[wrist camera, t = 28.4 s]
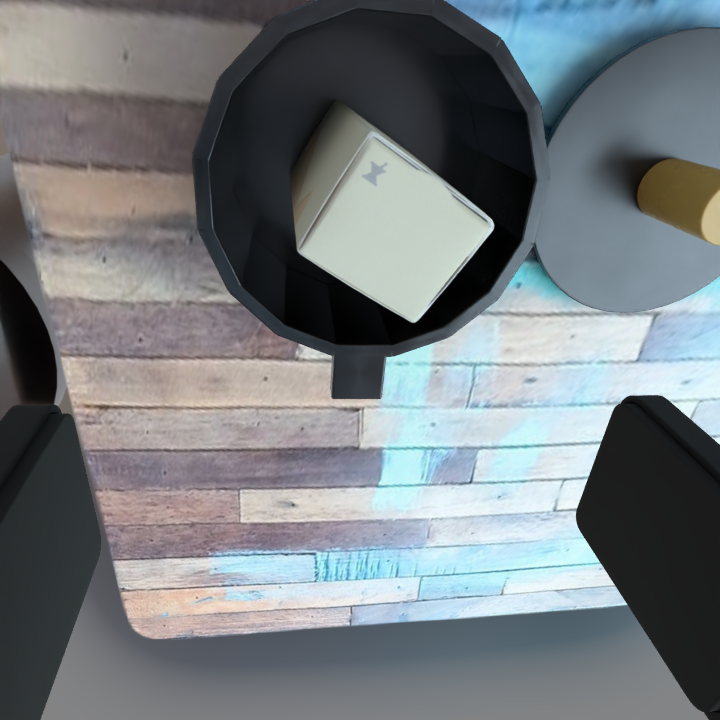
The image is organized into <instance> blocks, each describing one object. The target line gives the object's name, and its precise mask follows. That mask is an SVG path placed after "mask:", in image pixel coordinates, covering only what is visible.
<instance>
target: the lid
mask: <svg viewBox="0 0 720 720" xmlns="http://www.w3.org/2000/svg"><path fill="white" fill-rule="evenodd" d="M546 146H547V153H548V161H549V168H550V181H549V185H548V190H547V194H546V198H545V202H544V206H543V210H542V214H541V218H540V223H539V227H538V231H537V235H536V239H535V243H534V246H533V249H534V251H535V254H536V256H537V259H538V261H539V263H540V265H541V266H542V268H543V270H544V271H545V273H546V275H547V276H548V277H549V278H550V279H551V280H552V282H553V283H554V284H555V285H556V286H557V287H558V288H560V289H561V290H562V291H563V292H564V293H565V294H567V295H568V296H569V297H571V298H573V299H574V300H576V301H578V302H579V303H581V304H584V305H586V306H589V307H591V308H595V309H599V310H603V311H609V312H620V313H622V312H639V311H645V310H651V309H655V308H658V307H662V306H665V305H668V304H671V303H673V302H676V301H678V300H681V299H683V298H685V297H687V296H689V295H691V294H693V293H695V292H697V291H699V290H700V289H702V288H703V287H705V286H706V285H708V284H710V283H711V282H713V281H714V280H715V279H717V278H718V277H719V276H720V28H716V27H697V28H689V29H682V30H675V31H672V32H669V33H665V34H662V35H658V36H655V37H653V38H651V39H649V40H646V41H644V42H642V43H640V44H637V45H635V46H634V47H632V48H630V49H629V50H627V51H625V52H624V53H622V54H620V55H619V56H617V57H616V58H614V59H613V60H612V61H611V62H609V63H608V64H607V65H605V66H604V67H603V68H601V69H600V70H599V71H598V72H597V73H596V74H595V75H594V76H593V77H592V78H591V79H590V80H588V81H587V82H586V83H585V84H584V85H583V86H582V87H581V89H580V90H579V91H578V92H577V93H576V95H575V96H574V97H573V98H572V99H571V100H570V102H569V103H568V104H567V106H566V107H565V109H564V110H563V111H562V113H561V114H560V116H559V117H558V119H557V120H556V122H555V124H554V125H553V127H552V129H551V131H550V133H549V135H548V137H547V138H546Z"/></svg>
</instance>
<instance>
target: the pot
mask: <svg viewBox="0 0 720 720" xmlns="http://www.w3.org/2000/svg"><path fill="white" fill-rule="evenodd" d="M335 100H339V101H340V102H342V103H343V104H345V105H346V106H347V107H349V108H350V109H352V110H353V111H354V112H356V113H357V114H358V115H360V116H361V117H363V118H364V119H365V120H367V121H368V122H369V123H371V124H372V125H374V126H375V127H376V128H378V129H379V130H380V131H382V132H383V133H384V134H386V135H387V136H388V137H390V138H391V139H392V140H394V141H395V142H396V143H398V144H399V145H400V146H402V147H403V148H404V149H405V150H407V151H408V152H409V153H410V154H412V155H413V156H414V157H416V158H417V159H418V160H419V161H421V162H422V163H423V164H424V165H426V166H427V167H428V168H430V169H431V170H432V171H433V172H435V173H436V174H437V175H438V176H440V177H441V178H442V179H443V180H445V181H446V182H447V183H448V184H450V185H451V186H452V187H453V188H455V189H456V190H457V191H458V192H460V193H461V194H462V195H463V196H464V197H466V198H467V199H468V200H469V201H471V202H472V203H473V204H474V205H475V206H477V207H478V208H479V209H480V210H481V211H483V212H484V213H485V214H486V215H487V216H489V217H490V218H491V219H492V221H493V223H494V229H493V231H492V232H491V234H490V235H489V236H488V237H487V238H486V240H485V241H484V242H483V243H482V245H481V246H480V247H479V248H478V250H477V251H476V252H475V253H474V255H473V256H472V257H471V258H470V259H469V261H468V262H467V263H466V264H465V265H464V267H463V268H462V269H461V270H460V272H459V273H458V274H457V275H456V276H455V278H454V279H453V280H452V281H451V282H450V284H449V285H448V286H447V287H446V289H445V290H444V291H443V292H442V293H441V294H440V295H439V296H438V298H437V299H436V300H435V301H434V302H433V304H432V305H431V306H430V307H429V308H428V310H427V311H426V312H425V313H424V314H423V315H422V317H421V318H420V319H419V320H418V321H417V322H415V323H412V322H410V321H408V320H407V319H405V318H403V317H402V316H400V315H398V314H396V313H394V312H393V311H391V310H389V309H387V308H386V307H384V306H382V305H381V304H379V303H377V302H376V301H374V300H372V299H370V298H369V297H367V296H365V295H364V294H362V293H361V292H359V291H357V290H355V289H354V288H352V287H351V286H349V285H347V284H346V283H344V282H343V281H341V280H339V279H338V278H336V277H335V276H333V275H331V274H330V273H328V272H327V271H325V270H324V269H322V268H321V267H319V266H318V265H316V264H315V263H313V262H312V261H310V260H308V259H307V258H305V257H304V256H302V255H301V254H300V253H299V252H298V251H297V244H296V235H295V225H294V215H293V206H292V195H291V187H290V174H291V171H292V170H293V168H294V166H295V164H296V162H297V161H298V159H299V157H300V155H301V154H302V152H303V150H304V148H305V147H306V145H307V143H308V142H309V140H310V138H311V137H312V135H313V133H314V132H315V130H316V129H317V127H318V125H319V124H320V122H321V121H322V119H323V118H324V116H325V115H326V113H327V112H328V110H329V108H330V107H331V105H332V104H333V102H334V101H335ZM192 163H193V176H194V189H195V202H196V215H197V228H198V230H199V234H200V236H201V238H202V240H203V242H204V244H205V246H206V248H207V250H208V252H209V254H210V256H211V258H212V260H213V262H214V264H215V266H216V268H217V270H218V272H219V274H220V276H221V278H222V280H223V282H224V284H225V286H226V288H227V290H228V291H229V292H230V294H231V295H232V296H234V297H235V298H236V299H237V300H238V301H239V302H240V303H241V304H243V305H244V306H245V307H246V308H247V309H248V310H249V311H250V312H251V313H253V314H254V315H255V316H256V317H257V318H258V319H259V320H260V321H262V322H263V323H264V324H265V325H266V326H267V327H268V328H269V329H270V330H272V331H273V332H274V333H275V334H277V335H278V336H281V337H284V338H286V339H289V340H291V341H294V342H297V343H299V344H302V345H305V346H307V347H310V348H313V349H315V350H318V351H320V352H323V353H326V354H328V355H331V356H332V367H331V385H330V389H331V397H332V399H381V397H382V390H383V381H384V372H385V363H386V357H392V356H396V355H399V354H402V353H405V352H408V351H411V350H414V349H417V348H420V347H423V346H426V345H429V344H431V343H434V342H437V341H440V340H443V339H446V338H448V337H450V336H452V335H453V334H454V333H456V332H457V331H458V330H459V329H461V328H462V327H463V326H465V325H466V324H467V323H468V322H470V321H471V320H472V319H474V318H475V317H476V316H477V315H479V314H480V313H481V312H483V311H484V310H485V309H486V308H488V307H489V306H490V305H492V304H493V303H494V302H496V301H497V300H498V299H499V298H500V296H501V295H502V293H503V292H504V290H505V289H506V287H507V286H508V284H509V282H510V281H511V279H512V278H513V276H514V275H515V273H516V272H517V270H518V269H519V267H520V266H521V264H522V263H523V261H524V260H525V258H526V256H527V255H528V253H529V252H530V250H531V249H532V247H533V246H534V243H535V239H536V235H537V231H538V227H539V223H540V218H541V214H542V210H543V206H544V202H545V198H546V194H547V190H548V185H549V181H550V168H549V161H548V153H547V146H546V138H545V130H544V123H543V115H542V107H541V105H540V102H539V100H538V98H537V97H536V95H535V93H534V92H533V90H532V88H531V87H530V85H529V83H528V82H527V80H526V78H525V76H524V75H523V73H522V71H521V70H520V68H519V66H518V65H517V63H516V61H515V60H514V58H513V56H512V55H511V53H510V51H509V50H508V48H507V46H506V45H505V43H504V41H503V40H501V38H500V37H499V36H497V35H496V34H494V33H493V32H491V31H490V30H488V29H487V28H485V27H484V26H482V25H481V24H479V23H478V22H476V21H475V20H473V19H472V18H470V17H469V16H467V15H466V14H464V13H463V12H461V11H460V10H458V9H457V8H455V7H454V6H452V5H451V4H449V3H448V2H446V1H444V0H317V1H314V2H311V3H309V4H306V5H304V6H301V7H299V8H296V9H294V10H291V11H288V12H286V13H283V14H281V15H278V16H277V17H276V18H274V19H272V20H271V21H270V23H269V24H268V25H267V26H266V27H265V28H264V29H263V30H262V31H261V32H260V33H259V34H258V36H257V37H256V38H255V39H254V40H253V41H252V42H251V43H250V44H249V45H248V46H247V47H246V49H245V50H244V51H243V52H242V53H241V54H240V55H239V56H238V57H237V58H236V59H235V60H234V62H233V63H232V64H231V65H230V66H229V67H228V68H227V69H226V70H225V71H224V72H223V73H222V75H221V76H220V77H219V80H217V82H216V85H215V88H214V91H213V94H212V97H211V100H210V103H209V106H208V109H207V112H206V115H205V118H204V121H203V124H202V127H201V130H200V133H199V136H198V139H197V142H196V145H195V148H194V151H193V156H192Z"/></svg>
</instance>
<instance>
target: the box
mask: <svg viewBox="0 0 720 720" xmlns="http://www.w3.org/2000/svg"><path fill="white" fill-rule="evenodd" d="M290 187H291V195H292V206H293V215H294V225H295V235H296V244H297V251H298V252H299V253H300V254H301V255H302V256H304V257H305V258H307V259H308V260H310V261H312V262H313V263H315V264H316V265H318V266H319V267H321V268H322V269H324V270H325V271H327V272H328V273H330V274H331V275H333V276H335V277H336V278H338V279H339V280H341V281H343V282H344V283H346V284H347V285H349V286H351V287H352V288H354V289H355V290H357V291H359V292H361V293H362V294H364V295H365V296H367V297H369V298H370V299H372V300H374V301H376V302H377V303H379V304H381V305H382V306H384V307H386V308H387V309H389V310H391V311H393V312H394V313H396V314H398V315H400V316H402V317H403V318H405V319H407V320H408V321H410V322H412V323H415V322H417V321H418V320H419V319H420V318H421V317H422V315H423V314H424V313H425V312H426V311H427V310H428V308H429V307H430V306H431V305H432V304H433V302H434V301H435V300H436V299H437V298H438V296H439V295H440V294H441V293H442V292H443V291H444V290H445V289H446V287H447V286H448V285H449V284H450V282H451V281H452V280H453V279H454V278H455V276H456V275H457V274H458V273H459V272H460V270H461V269H462V268H463V267H464V265H465V264H466V263H467V262H468V261H469V259H470V258H471V257H472V256H473V255H474V253H475V252H476V251H477V250H478V248H479V247H480V246H481V245H482V243H483V242H484V241H485V240H486V238H487V237H488V236H489V235H490V234H491V232H492V231H493V229H494V223H493V221H492V219H491V218H490V217H489V216H487V215H486V214H485V213H484V212H483V211H481V210H480V209H479V208H478V207H477V206H475V205H474V204H473V203H472V202H471V201H469V200H468V199H467V198H466V197H464V196H463V195H462V194H461V193H460V192H458V191H457V190H456V189H455V188H453V187H452V186H451V185H450V184H448V183H447V182H446V181H445V180H443V179H442V178H441V177H440V176H438V175H437V174H436V173H435V172H433V171H432V170H431V169H430V168H428V167H427V166H426V165H424V164H423V163H422V162H421V161H419V160H418V159H417V158H416V157H414V156H413V155H412V154H410V153H409V152H408V151H407V150H405V149H404V148H403V147H402V146H400V145H399V144H398V143H396V142H395V141H394V140H392V139H391V138H390V137H388V136H387V135H386V134H384V133H383V132H382V131H380V130H379V129H378V128H376V127H375V126H374V125H372V124H371V123H369V122H368V121H367V120H365V119H364V118H363V117H361V116H360V115H358V114H357V113H356V112H354V111H353V110H352V109H350V108H349V107H347V106H346V105H345V104H343V103H342V102H340V101H339V100H335V101H334V102H333V104H332V105H331V107H330V108H329V110H328V112H327V113H326V115H325V116H324V118H323V119H322V121H321V122H320V124H319V125H318V127H317V129H316V130H315V132H314V133H313V135H312V137H311V138H310V140H309V142H308V143H307V145H306V147H305V148H304V150H303V152H302V154H301V155H300V157H299V159H298V161H297V162H296V164H295V166H294V168H293V170H292V171H291V174H290Z"/></svg>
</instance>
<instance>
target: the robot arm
mask: <svg viewBox="0 0 720 720" xmlns="http://www.w3.org/2000/svg"><path fill="white" fill-rule="evenodd" d="M576 521H577V525H578V528H579V530H580V532H581V533H582V535H583V536H584V538H585V539H586V541H587V542H588V544H589V546H590V547H591V549H592V550H593V552H594V553H595V555H596V556H597V558H598V560H599V561H600V563H601V564H602V566H603V567H604V569H605V570H606V572H607V573H608V575H609V577H610V578H611V580H612V581H613V583H614V584H615V586H616V587H617V589H618V591H619V592H620V594H621V595H622V597H623V598H624V600H625V601H626V603H627V604H628V606H629V607H630V609H631V611H632V612H633V614H634V615H635V617H636V618H637V620H638V622H639V623H640V624H641V626H642V627H643V629H644V631H645V632H646V634H647V635H648V637H649V639H650V640H651V642H652V643H653V645H654V646H655V648H656V649H657V651H658V652H659V654H660V656H661V657H662V659H663V660H664V662H665V663H666V665H667V666H668V668H669V669H670V671H671V673H672V674H673V676H674V677H675V679H676V680H677V682H678V683H679V685H680V687H681V688H682V690H683V691H684V693H685V694H686V696H687V697H688V699H689V700H690V702H691V703H692V704H693V705H694V706H695V707H696V708H697V709H698V710H700V711H702V712H704V713H705V715H706V716H707V718H708V719H709V720H720V445H719V444H718V443H717V442H716V441H715V440H714V439H712V438H711V437H710V436H709V435H708V434H707V433H706V432H704V431H703V430H702V429H701V428H700V427H699V426H697V425H696V424H695V423H694V422H693V421H692V420H691V419H689V418H688V417H687V416H686V415H685V414H684V413H682V412H681V411H680V410H679V409H678V408H677V407H675V406H674V405H673V404H672V403H671V402H670V401H669V400H667V399H666V398H664V397H663V396H658V395H642V396H628V397H626V398H625V399H624V400H623V401H622V402H621V404H618V405H617V406H616V407H615V408H614V410H613V412H612V415H611V418H610V420H609V423H608V426H607V429H606V431H605V434H604V437H603V439H602V442H601V445H600V448H599V450H598V453H597V456H596V459H595V461H594V464H593V467H592V469H591V472H590V475H589V478H588V480H587V483H586V486H585V489H584V491H583V494H582V497H581V500H580V502H579V505H578V508H577V511H576ZM100 550H101V534H100V530H99V525H98V521H97V517H96V512H95V508H94V504H93V500H92V495H91V491H90V487H89V482H88V478H87V474H86V470H85V465H84V461H83V457H82V452H81V448H80V444H79V440H78V435H77V431H76V427H75V422H74V419H73V417H72V416H71V415H70V414H62V413H61V410H60V409H59V407H58V406H56V405H16V406H13V407H12V408H11V409H10V410H9V411H8V412H7V413H6V414H5V416H4V417H3V418H2V420H1V421H0V720H40V719H41V716H42V714H43V711H44V708H45V705H46V702H47V700H48V697H49V694H50V691H51V689H52V686H53V683H54V680H55V677H56V675H57V672H58V669H59V666H60V664H61V661H62V658H63V655H64V653H65V650H66V647H67V644H68V642H69V639H70V636H71V633H72V631H73V628H74V625H75V622H76V619H77V617H78V614H79V611H80V608H81V605H82V603H83V600H84V597H85V595H86V592H87V589H88V586H89V583H90V581H91V578H92V575H93V572H94V570H95V567H96V564H97V561H98V558H99V555H100Z"/></svg>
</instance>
